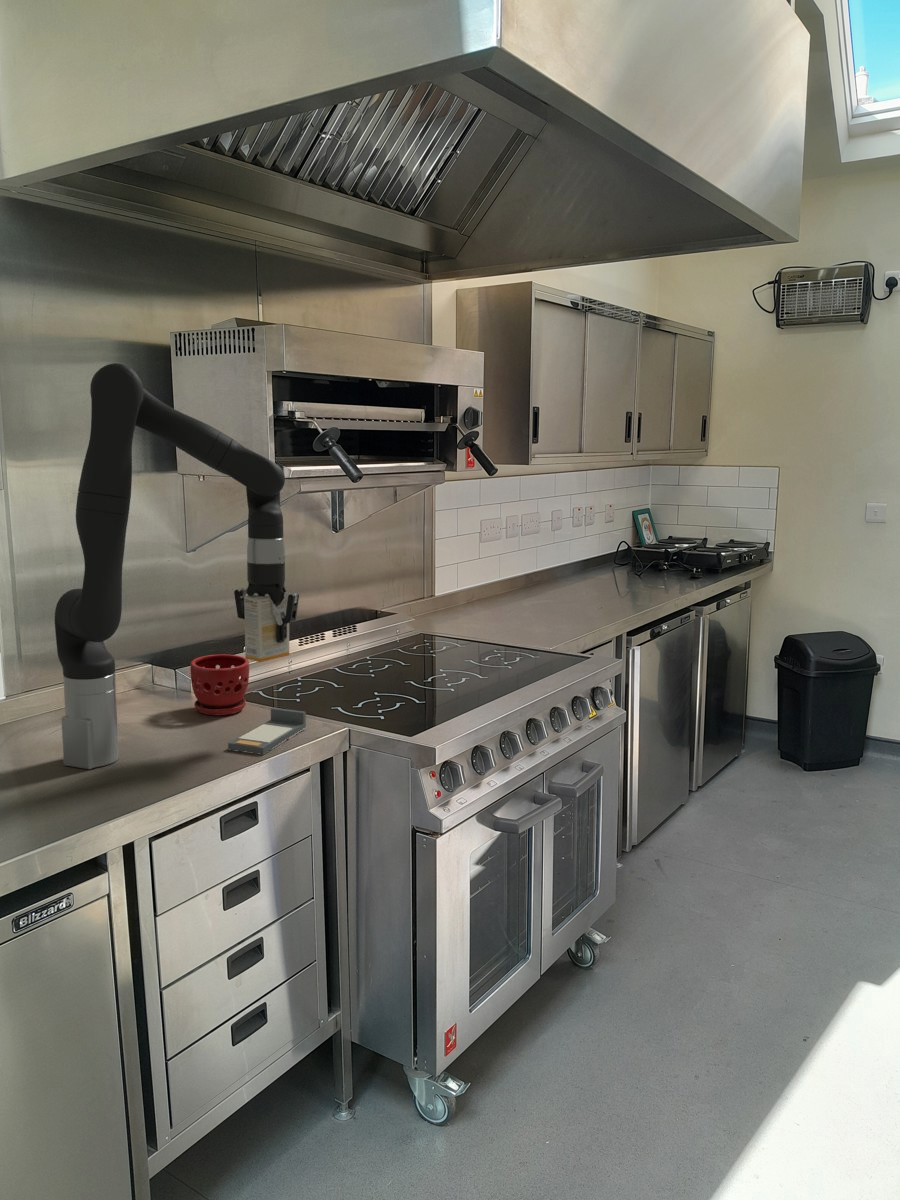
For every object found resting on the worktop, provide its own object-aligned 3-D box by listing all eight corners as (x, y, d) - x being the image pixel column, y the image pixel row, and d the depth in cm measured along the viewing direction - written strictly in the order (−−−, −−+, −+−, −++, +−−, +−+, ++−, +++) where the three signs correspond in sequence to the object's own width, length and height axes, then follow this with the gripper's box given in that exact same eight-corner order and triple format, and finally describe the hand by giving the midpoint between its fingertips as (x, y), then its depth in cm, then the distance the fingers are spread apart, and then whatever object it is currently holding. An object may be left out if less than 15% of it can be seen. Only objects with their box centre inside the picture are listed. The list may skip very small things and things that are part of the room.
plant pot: (179, 712, 206) (178, 661, 204) (223, 699, 217) (222, 651, 215) (218, 722, 199) (217, 670, 197) (261, 709, 209) (261, 659, 207)
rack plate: (263, 755, 179) (263, 735, 178) (228, 750, 181) (227, 731, 180) (305, 729, 195) (305, 711, 195) (273, 725, 198) (273, 707, 197)
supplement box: (274, 652, 190) (274, 591, 188) (290, 656, 187) (290, 594, 185) (243, 658, 184) (243, 595, 181) (259, 662, 181) (258, 599, 179)
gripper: (224, 559, 181) (226, 641, 183) (288, 564, 176) (289, 647, 179) (244, 555, 188) (245, 634, 190) (306, 559, 183) (306, 640, 186)
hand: (266, 640), depth 185 cm, fingers closed on supplement box, 6 cm apart
